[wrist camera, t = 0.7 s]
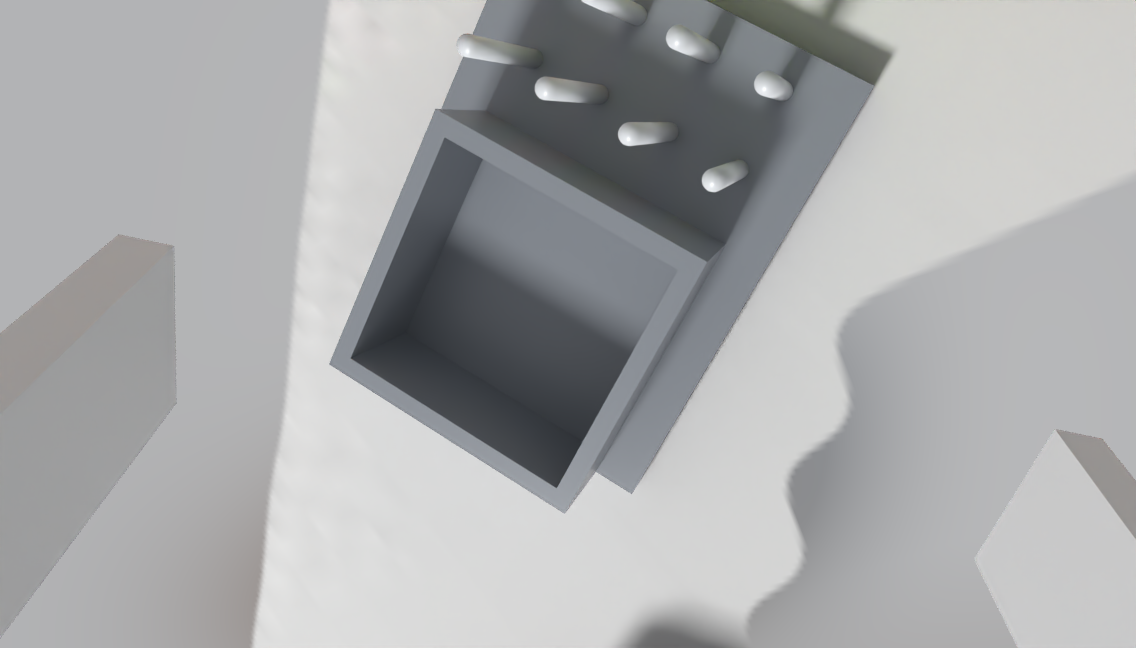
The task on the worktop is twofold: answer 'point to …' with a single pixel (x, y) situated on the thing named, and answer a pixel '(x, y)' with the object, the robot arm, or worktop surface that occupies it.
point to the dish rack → (589, 228)
